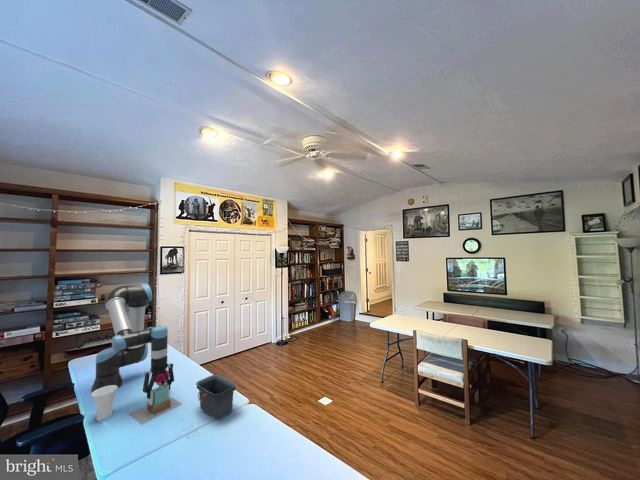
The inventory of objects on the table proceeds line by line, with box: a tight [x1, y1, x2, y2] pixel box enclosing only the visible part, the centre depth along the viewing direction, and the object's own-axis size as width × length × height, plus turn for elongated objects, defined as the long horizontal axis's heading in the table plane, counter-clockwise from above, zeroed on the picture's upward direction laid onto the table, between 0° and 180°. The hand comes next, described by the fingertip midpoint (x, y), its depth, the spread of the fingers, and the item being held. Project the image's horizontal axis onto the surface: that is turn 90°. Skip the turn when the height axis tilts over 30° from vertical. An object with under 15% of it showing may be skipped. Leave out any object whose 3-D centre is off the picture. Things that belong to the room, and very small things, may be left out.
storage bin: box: [195, 374, 238, 421], centre depth 135 cm, size 21×16×14 cm
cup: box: [91, 385, 118, 422], centre depth 133 cm, size 10×10×14 cm
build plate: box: [127, 395, 183, 426], centre depth 137 cm, size 16×20×1 cm
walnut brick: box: [146, 398, 171, 415], centre depth 138 cm, size 8×8×4 cm
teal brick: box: [151, 385, 168, 405], centre depth 138 cm, size 6×6×6 cm
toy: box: [154, 369, 169, 387], centre depth 151 cm, size 8×8×15 cm
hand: (158, 400), depth 138 cm, fingers open, 7 cm apart
